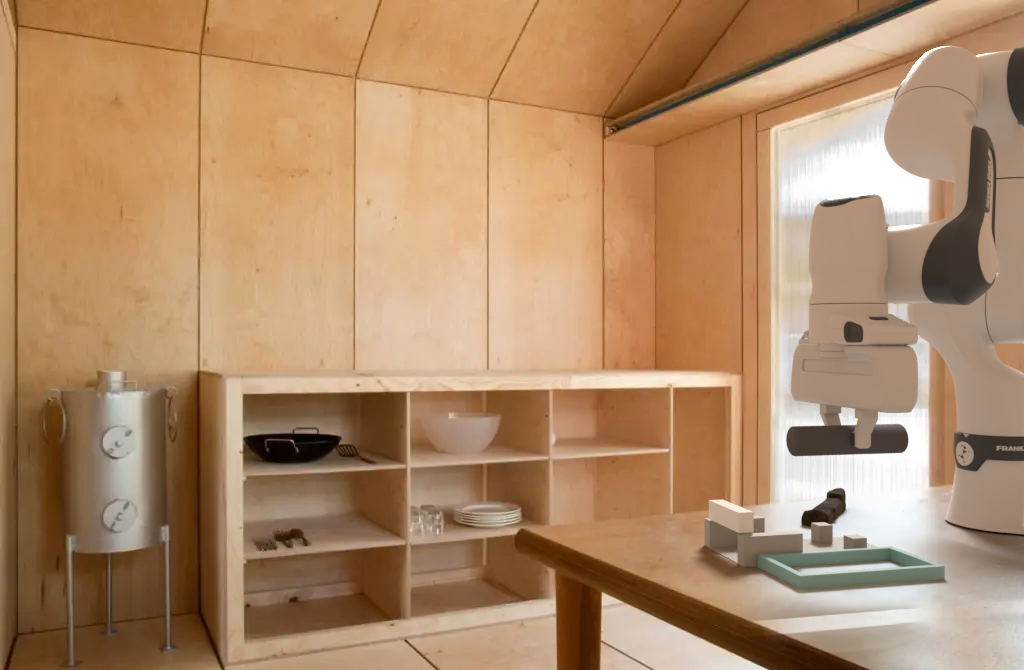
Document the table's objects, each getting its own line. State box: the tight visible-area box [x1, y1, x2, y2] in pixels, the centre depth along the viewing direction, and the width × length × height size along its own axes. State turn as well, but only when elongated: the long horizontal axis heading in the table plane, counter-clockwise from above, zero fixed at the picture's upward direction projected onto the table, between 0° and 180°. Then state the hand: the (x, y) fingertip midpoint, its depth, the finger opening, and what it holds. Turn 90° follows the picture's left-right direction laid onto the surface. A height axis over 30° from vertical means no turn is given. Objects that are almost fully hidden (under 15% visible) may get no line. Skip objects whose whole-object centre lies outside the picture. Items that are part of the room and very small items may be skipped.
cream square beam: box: [708, 499, 755, 533], centre depth 110 cm, size 2×8×2 cm, turn 12°
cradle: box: [703, 515, 877, 568], centre depth 112 cm, size 22×11×5 cm, turn 102°
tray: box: [756, 545, 946, 590], centre depth 102 cm, size 19×10×3 cm, turn 103°
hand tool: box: [800, 487, 847, 528], centre depth 134 cm, size 19×4×5 cm, turn 145°
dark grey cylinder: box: [785, 423, 909, 457], centre depth 102 cm, size 14×4×4 cm, turn 102°
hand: (847, 445), depth 102 cm, fingers closed on dark grey cylinder, 3 cm apart
